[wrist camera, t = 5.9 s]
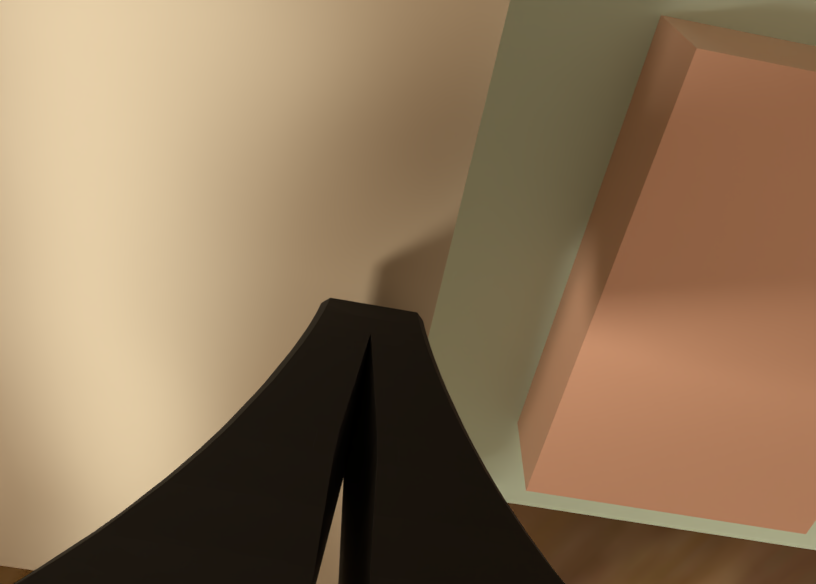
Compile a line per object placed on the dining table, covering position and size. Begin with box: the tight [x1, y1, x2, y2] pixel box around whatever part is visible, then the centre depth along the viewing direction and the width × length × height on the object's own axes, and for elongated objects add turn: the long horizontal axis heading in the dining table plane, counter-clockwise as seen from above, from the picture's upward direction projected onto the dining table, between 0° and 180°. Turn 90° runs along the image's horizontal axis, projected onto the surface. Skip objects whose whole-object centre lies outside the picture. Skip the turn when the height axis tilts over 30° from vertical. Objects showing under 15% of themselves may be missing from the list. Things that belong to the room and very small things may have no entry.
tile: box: [517, 15, 816, 534], centre depth 14 cm, size 6×9×2 cm, turn 170°
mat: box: [428, 0, 816, 550], centre depth 15 cm, size 14×14×1 cm
